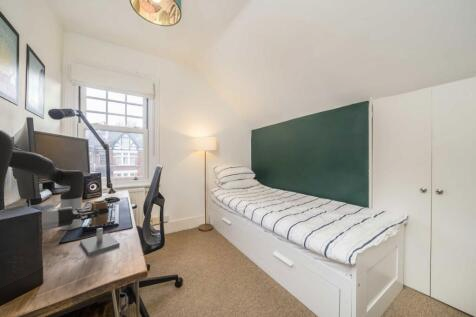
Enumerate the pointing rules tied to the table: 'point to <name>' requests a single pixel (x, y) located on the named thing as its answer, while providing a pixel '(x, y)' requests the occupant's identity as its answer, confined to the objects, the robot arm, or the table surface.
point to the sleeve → (103, 217)
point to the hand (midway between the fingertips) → (106, 209)
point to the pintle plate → (99, 243)
